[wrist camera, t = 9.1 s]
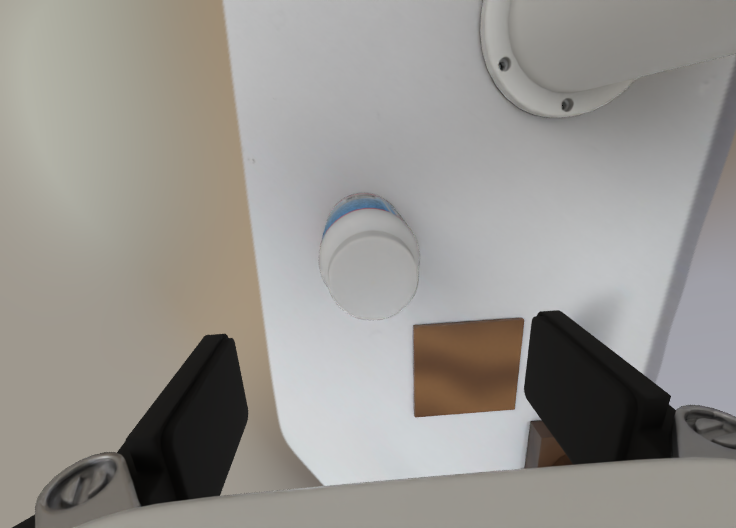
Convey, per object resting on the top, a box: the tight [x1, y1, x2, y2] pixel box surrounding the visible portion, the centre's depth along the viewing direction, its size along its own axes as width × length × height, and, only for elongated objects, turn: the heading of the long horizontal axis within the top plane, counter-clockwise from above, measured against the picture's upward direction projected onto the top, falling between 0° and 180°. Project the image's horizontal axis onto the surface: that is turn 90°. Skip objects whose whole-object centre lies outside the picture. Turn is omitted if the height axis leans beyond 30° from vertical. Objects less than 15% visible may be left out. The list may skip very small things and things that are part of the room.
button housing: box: [525, 421, 573, 469], centre depth 35 cm, size 10×9×4 cm
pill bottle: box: [319, 193, 420, 320], centre depth 23 cm, size 6×6×11 cm
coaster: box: [413, 318, 524, 417], centre depth 33 cm, size 10×10×1 cm
